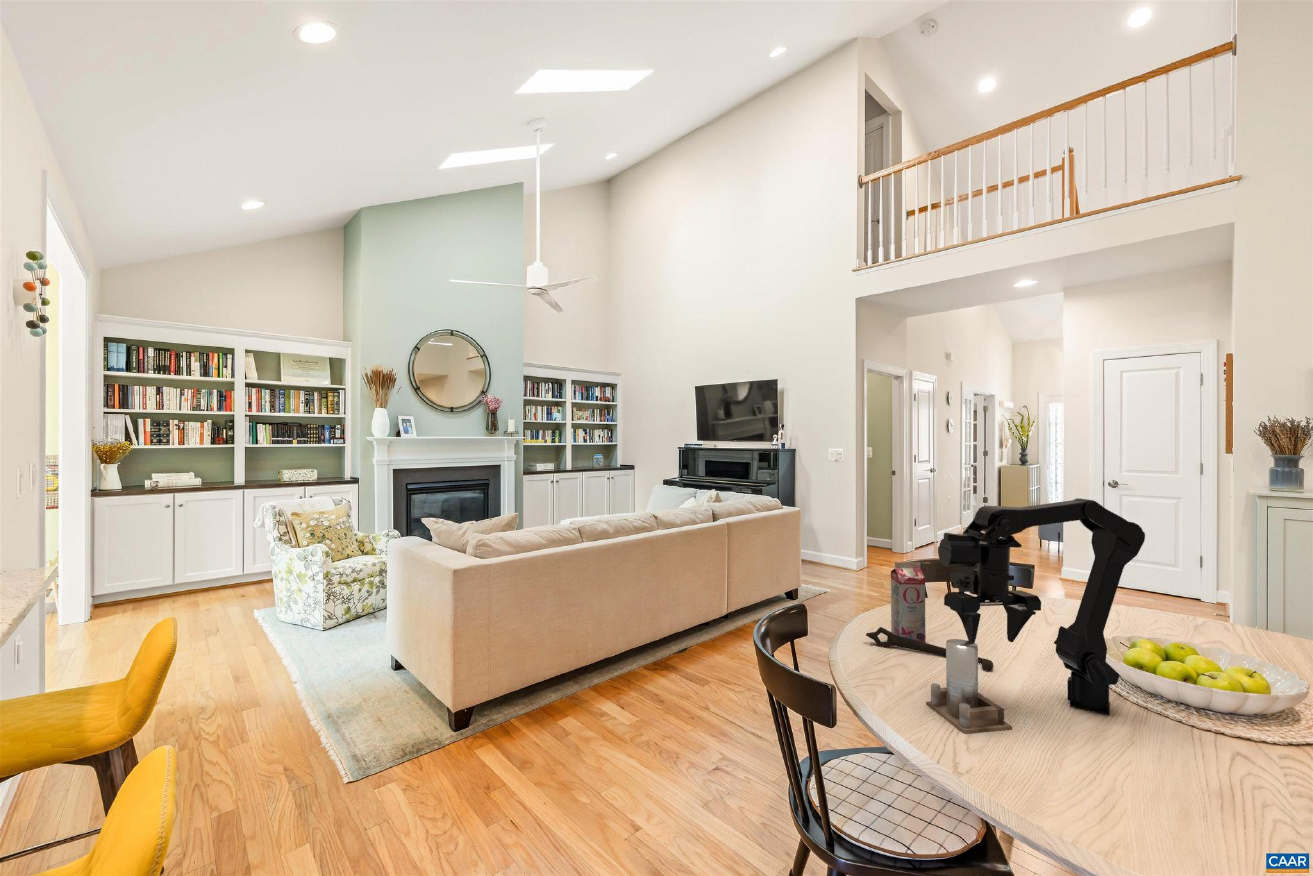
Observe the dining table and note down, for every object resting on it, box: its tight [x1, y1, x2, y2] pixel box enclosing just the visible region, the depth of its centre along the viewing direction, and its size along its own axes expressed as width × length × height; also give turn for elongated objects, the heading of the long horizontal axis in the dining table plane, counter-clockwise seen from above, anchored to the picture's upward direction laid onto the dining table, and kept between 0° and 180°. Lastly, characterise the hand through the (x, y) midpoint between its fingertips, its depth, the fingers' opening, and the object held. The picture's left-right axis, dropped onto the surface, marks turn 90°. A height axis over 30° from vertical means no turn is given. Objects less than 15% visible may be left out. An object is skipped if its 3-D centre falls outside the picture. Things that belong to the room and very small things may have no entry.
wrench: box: [865, 626, 994, 672], centre depth 147 cm, size 5×5×30 cm
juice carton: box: [890, 561, 927, 643], centre depth 156 cm, size 7×7×22 cm
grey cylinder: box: [945, 638, 979, 719], centre depth 116 cm, size 6×6×14 cm
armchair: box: [925, 682, 1013, 735], centre depth 116 cm, size 10×12×5 cm
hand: (991, 642), depth 120 cm, fingers open, 9 cm apart
